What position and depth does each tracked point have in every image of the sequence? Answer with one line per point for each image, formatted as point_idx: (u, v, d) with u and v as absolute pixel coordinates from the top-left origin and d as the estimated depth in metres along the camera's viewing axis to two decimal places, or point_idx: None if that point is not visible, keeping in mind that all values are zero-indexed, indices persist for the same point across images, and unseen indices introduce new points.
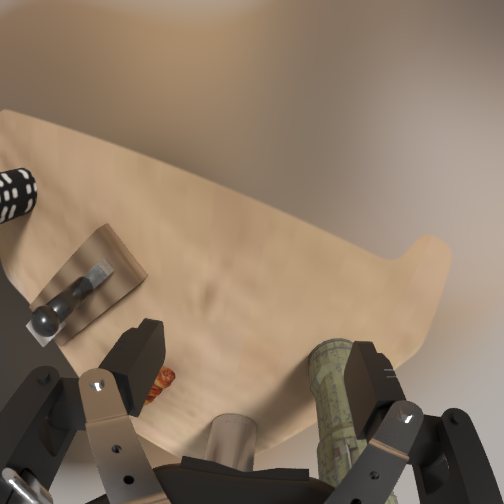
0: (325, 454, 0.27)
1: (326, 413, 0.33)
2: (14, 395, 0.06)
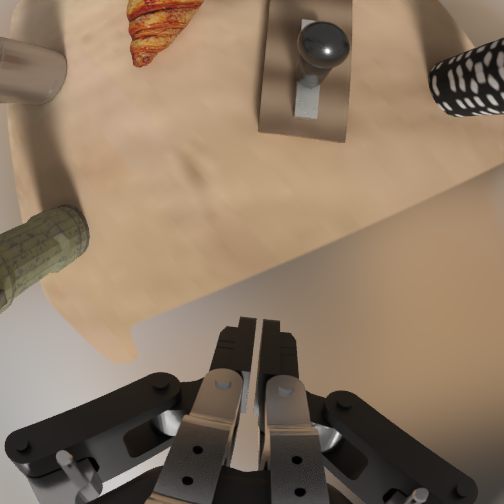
0: None
1: (27, 255, 0.28)
2: (119, 390, 0.08)
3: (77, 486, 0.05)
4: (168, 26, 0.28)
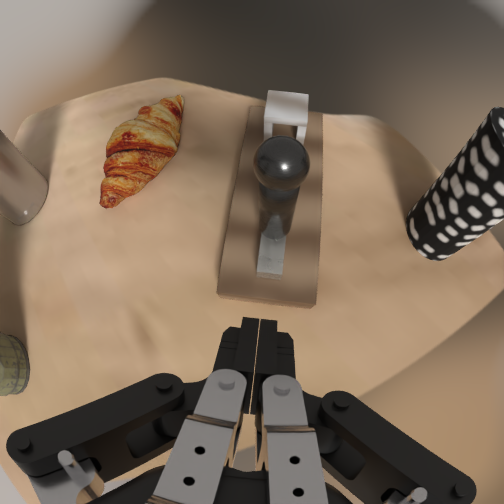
0: None
1: None
2: (122, 390, 0.08)
3: (78, 486, 0.05)
4: (139, 169, 0.35)
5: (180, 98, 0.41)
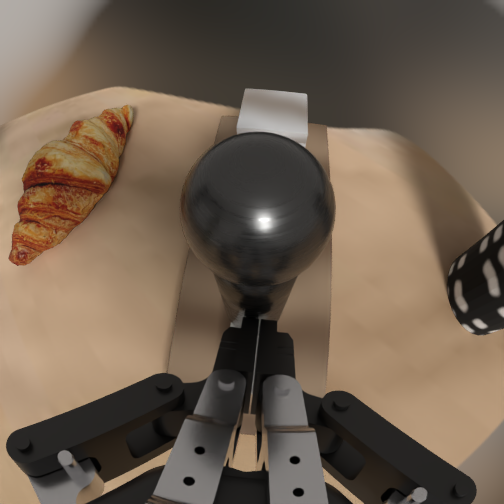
0: None
1: None
2: (122, 390, 0.08)
3: (78, 486, 0.05)
4: (54, 212, 0.22)
5: (127, 109, 0.29)
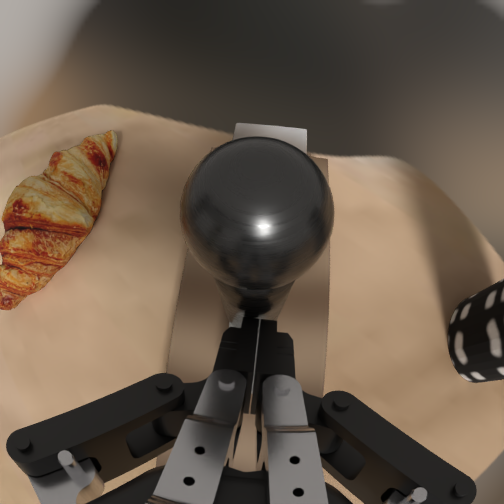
0: None
1: None
2: (122, 390, 0.08)
3: (78, 486, 0.05)
4: (35, 258, 0.20)
5: (110, 136, 0.27)
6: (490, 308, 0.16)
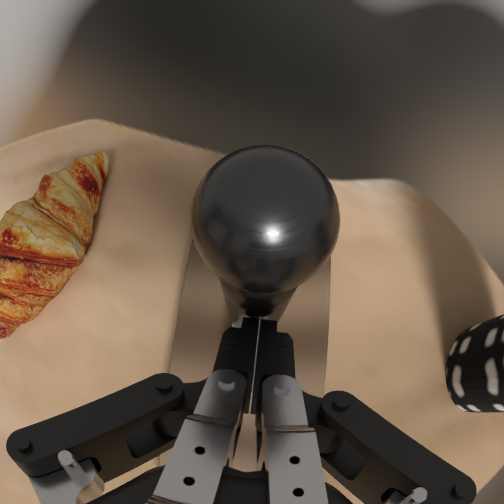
0: None
1: None
2: (122, 390, 0.08)
3: (78, 486, 0.05)
4: (27, 290, 0.19)
5: (102, 157, 0.26)
6: (490, 347, 0.16)
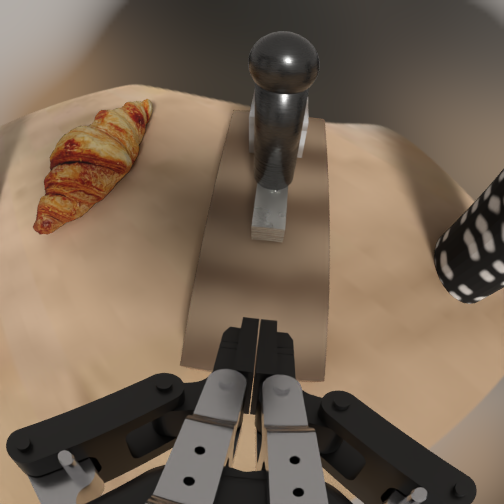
0: None
1: None
2: (122, 390, 0.08)
3: (78, 486, 0.05)
4: (80, 187, 0.26)
5: (147, 103, 0.33)
6: (464, 222, 0.22)
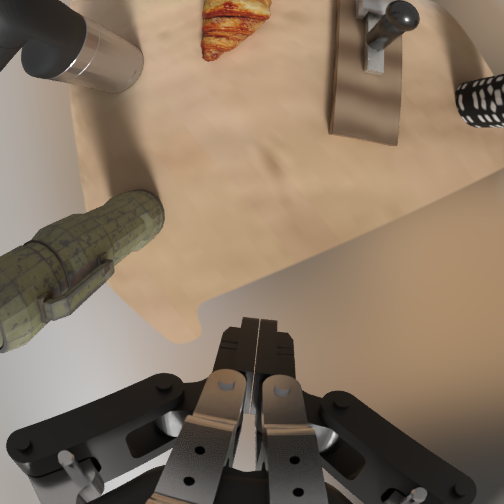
0: (96, 242, 0.28)
1: (122, 230, 0.35)
2: (122, 390, 0.08)
3: (78, 486, 0.05)
4: (239, 31, 0.34)
5: None
6: (474, 87, 0.31)
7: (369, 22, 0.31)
